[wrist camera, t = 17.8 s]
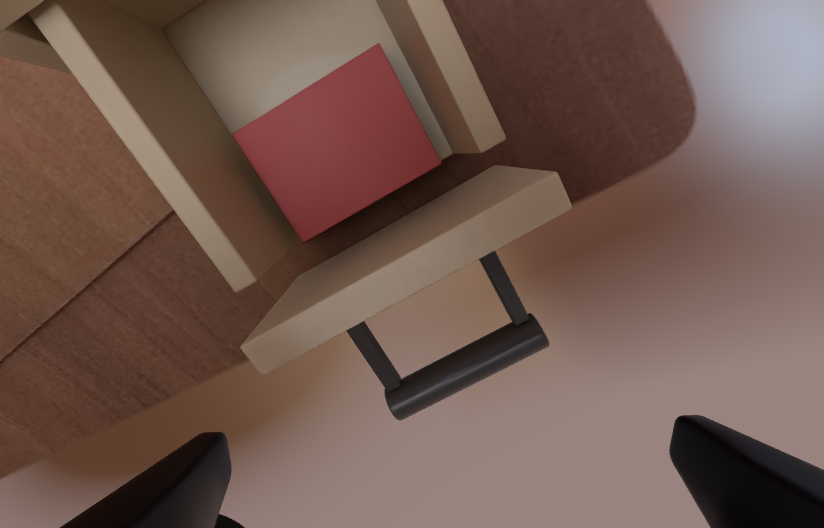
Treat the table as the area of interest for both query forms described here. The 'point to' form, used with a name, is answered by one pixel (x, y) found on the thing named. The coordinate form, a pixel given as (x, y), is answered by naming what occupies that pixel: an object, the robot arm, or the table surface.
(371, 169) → the book
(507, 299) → the drawer
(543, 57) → the table surface
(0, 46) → the cabinet
